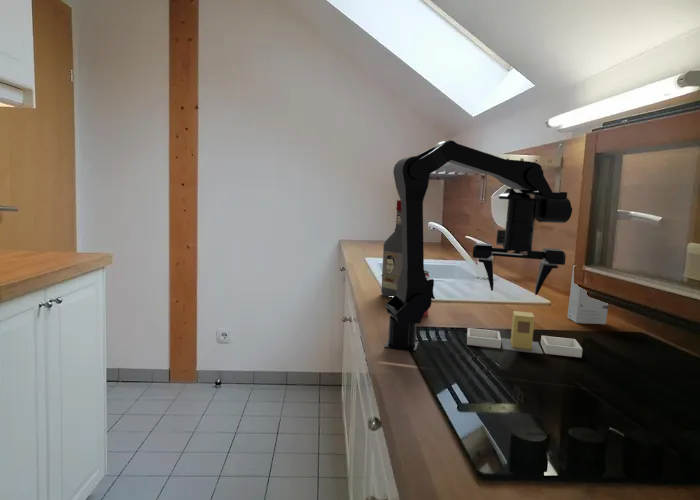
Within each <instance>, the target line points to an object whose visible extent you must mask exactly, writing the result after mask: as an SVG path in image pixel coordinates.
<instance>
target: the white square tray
mask: <svg viewBox="0 0 700 500" xmlns="http://www.w3.org/2000/svg"><path fill="white" fill-rule="evenodd" d="M540 346H541V347H542V349H543V350H542V351H543V353H545V354H547V355H556V356H565V357H572V358H573V357H575V358H582V356H583V347H582V346H581V345H580V343H579V342H578V341H577V339H575V338H568V337H567V338H566V337H557V336H549V335H541V338H540Z"/></svg>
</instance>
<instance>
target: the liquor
mask: <svg viewBox="0 0 700 500" xmlns="http://www.w3.org/2000/svg"><path fill="white" fill-rule="evenodd" d="M382 249H383V254H382V271H381V272H382V273H381V288H380V291H381V294H382V297H385V298H387V297H386V296H395V295H396V291H397V285H398V280H399V277H400V274H401V271H402V219H401V200H399V199H398V200H396V220H395V228H394V231H393V232H392V233H391V235H389V237H388V238H387V239H386V240H385V241H384V243H383V248H382Z"/></svg>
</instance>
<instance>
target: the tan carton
mask: <svg viewBox="0 0 700 500" xmlns="http://www.w3.org/2000/svg"><path fill="white" fill-rule="evenodd" d="M511 319H512V321H511V329H510V331H511V333H510V339H511V345H512V347H517V348H526V349H532V341H533V342H534V339H533V338H534V328H535V327H534V325H535V315H534V313H533V312H530V311H529V312H527V311H517V310H513V311H512V318H511Z"/></svg>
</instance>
